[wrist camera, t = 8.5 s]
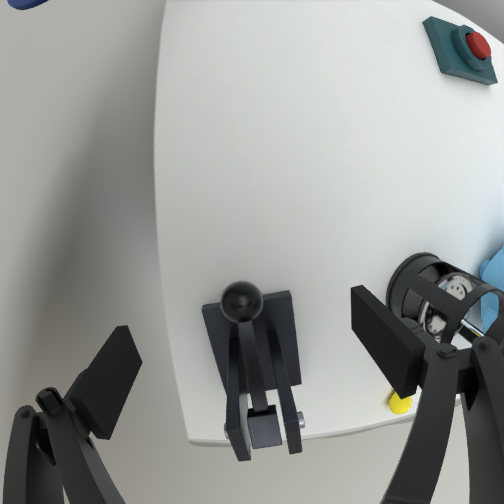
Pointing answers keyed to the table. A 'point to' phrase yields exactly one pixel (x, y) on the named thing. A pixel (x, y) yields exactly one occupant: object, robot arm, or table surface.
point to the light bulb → (399, 404)
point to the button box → (457, 52)
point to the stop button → (478, 45)
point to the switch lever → (252, 361)
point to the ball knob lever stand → (272, 365)
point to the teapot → (500, 276)
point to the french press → (443, 299)
